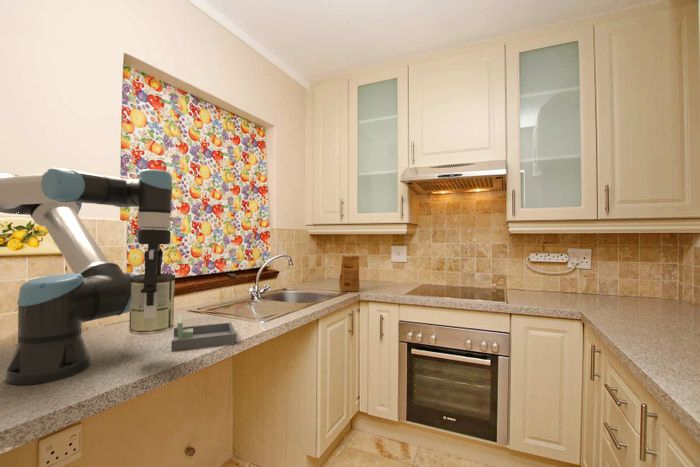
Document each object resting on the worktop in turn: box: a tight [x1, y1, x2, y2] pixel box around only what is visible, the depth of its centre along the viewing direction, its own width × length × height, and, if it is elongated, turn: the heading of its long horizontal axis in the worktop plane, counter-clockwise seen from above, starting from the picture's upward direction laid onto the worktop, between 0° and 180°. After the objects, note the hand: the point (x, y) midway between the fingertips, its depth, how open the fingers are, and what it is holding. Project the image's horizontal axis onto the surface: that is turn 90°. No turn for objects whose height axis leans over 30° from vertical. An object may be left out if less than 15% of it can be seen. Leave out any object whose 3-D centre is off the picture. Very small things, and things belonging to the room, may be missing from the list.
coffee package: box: [339, 255, 360, 292], centre depth 206 cm, size 10×12×22 cm
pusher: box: [177, 313, 193, 339], centre depth 105 cm, size 4×12×7 cm, turn 26°
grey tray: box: [170, 322, 237, 352], centre depth 107 cm, size 18×15×3 cm
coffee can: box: [128, 273, 176, 336], centre depth 88 cm, size 10×10×14 cm
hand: (152, 313), depth 88 cm, fingers closed on coffee can, 10 cm apart
